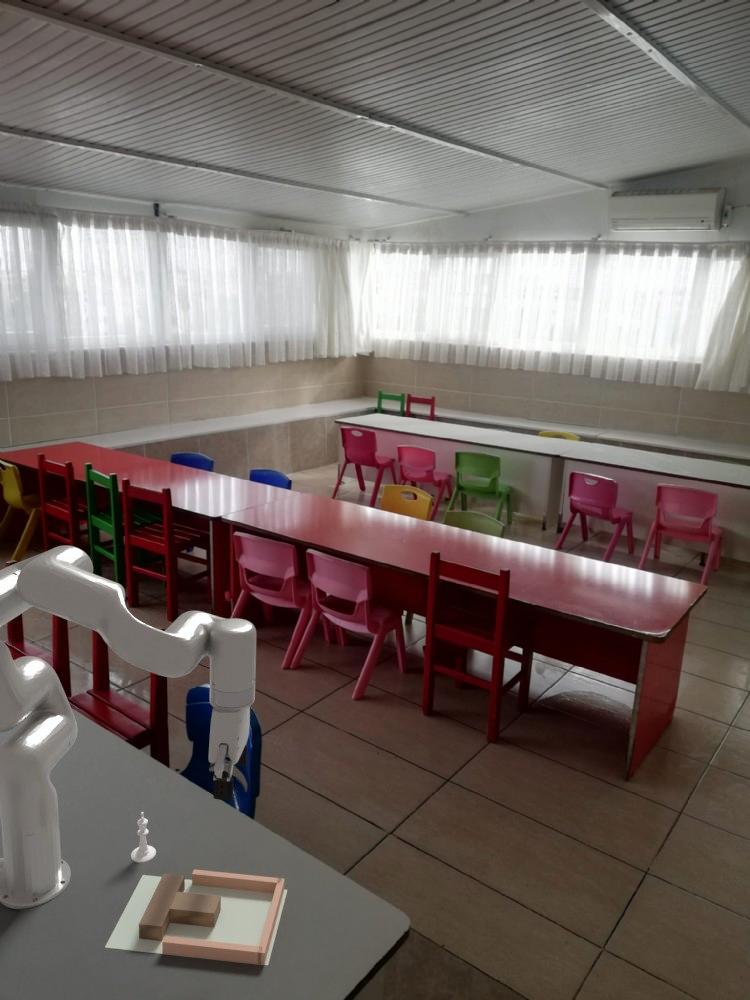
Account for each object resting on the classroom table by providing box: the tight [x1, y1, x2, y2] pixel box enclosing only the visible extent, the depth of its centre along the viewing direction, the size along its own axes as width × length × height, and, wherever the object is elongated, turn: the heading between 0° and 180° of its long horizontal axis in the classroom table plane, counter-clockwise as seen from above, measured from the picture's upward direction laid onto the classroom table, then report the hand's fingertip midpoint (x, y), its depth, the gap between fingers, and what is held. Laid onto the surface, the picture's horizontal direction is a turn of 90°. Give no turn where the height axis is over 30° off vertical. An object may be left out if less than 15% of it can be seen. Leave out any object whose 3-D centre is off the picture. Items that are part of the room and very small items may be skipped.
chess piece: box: [130, 811, 157, 864], centre depth 147 cm, size 5×5×10 cm
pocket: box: [162, 869, 286, 966], centre depth 133 cm, size 17×17×2 cm
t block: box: [139, 873, 221, 941], centre depth 133 cm, size 12×12×3 cm
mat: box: [104, 874, 288, 967], centre depth 133 cm, size 28×17×1 cm, turn 86°
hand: (230, 781), depth 130 cm, fingers open, 9 cm apart
